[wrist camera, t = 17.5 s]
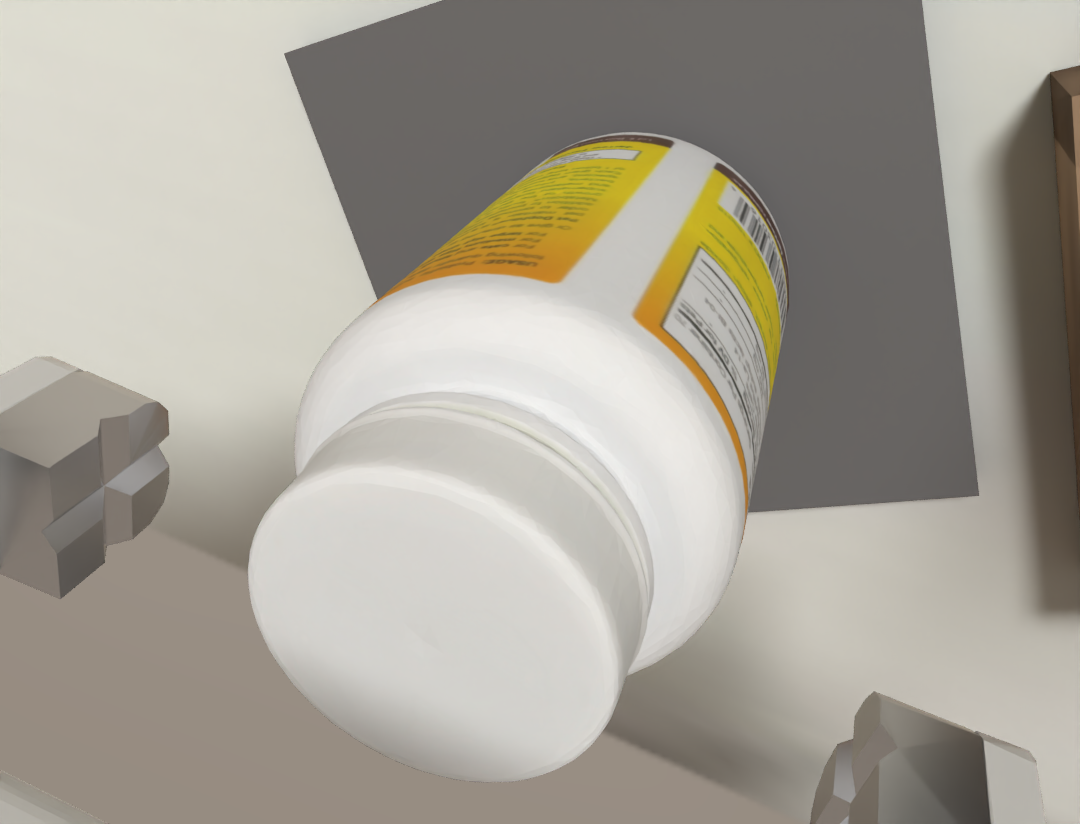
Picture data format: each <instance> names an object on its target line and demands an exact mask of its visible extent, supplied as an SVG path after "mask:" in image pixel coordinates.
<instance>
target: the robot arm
mask: <svg viewBox="0 0 1080 824" xmlns="http://www.w3.org/2000/svg"><path fill="white" fill-rule="evenodd" d="M168 435H169V422H168V410H167V409H166V408H164V407H163V406H162V405H161V404H160V403H159V402H157V401H155V400H152V399H150V398H148V397H146V396H143V395H141V394H139V393H136V392H134V391H132V390H129V389H127V388H125V387H123V386H120V385H118V384H116V383H113V382H111V381H109V380H106V379H104V378H102V377H99V376H97V375H95V374H93V373H90V372H88V371H83V370H81V369H79V368H76V367H74V366H72V365H70V364H67V363H65V362H63V361H60V360H58V359H56V358H54V357H34V358H33V359H31V360H29V361H27V362H25V363H23V364H21V365H19V366H17V367H15V368H14V369H12V370H10V371H8V372H6V373H4V374H2V375H0V574H2V575H4V576H6V577H9V578H12V579H14V580H16V581H18V582H21V583H23V584H26V585H28V586H30V587H33V588H35V589H38V590H40V591H42V592H45V593H47V594H49V595H52V596H54V597H57V598H59V599H61V598H62V597H64V596H65V595H66V594H67V593H68V592H70V591H71V590H72V589H73V588H75V587H76V586H77V585H78V584H79V583H81V582H82V581H83V580H84V579H85V578H86V577H88V576H89V575H90V574H91V573H92V572H94V571H95V570H96V569H97V568H99V567H100V566H101V565H102V564H103V563H105V556H106V548H107V546H108V545H111V544H115V543H119V542H123V541H127V540H131V539H133V538H134V537H135V536H137V535H138V534H139V533H140V532H141V531H142V530H143V529H145V528H146V527H147V526H148V525H149V524H150V523H151V522H152V520H153V518H154V517H155V515H156V514H157V512H158V510H159V509H160V507H161V506H162V504H163V503H164V500H165V496H166V492H167V489H168V485H169V465H168V463H167V461H166V459H165V457H164V456H163V454H162V452H161V450H160V449H159V447H158V445H159V444H160V443H161V442H162V441H163V440H164V439H165V438H166V437H167V436H168ZM0 824H109V823H107V822H105V821H103V820H100V819H98V818H96V817H94V816H92V815H90V814H88V813H86V812H84V811H82V810H80V809H78V808H76V807H74V806H72V805H70V804H68V803H66V802H64V801H62V800H60V799H58V798H56V797H54V796H52V795H50V794H48V793H46V792H44V791H42V790H40V789H38V788H36V787H34V786H32V785H30V784H28V783H26V782H24V781H22V780H20V779H18V778H16V777H14V776H12V775H10V774H8V773H6V772H4V771H1V770H0ZM810 824H1046V818H1045V812H1044V806H1043V800H1042V794H1041V788H1040V782H1039V776H1038V770H1037V764H1036V760H1035V759H1034V757H1033V756H1032V754H1031V753H1030V751H1028V750H1025V749H1023V748H1020V747H1017V746H1015V745H1012V744H1010V743H1007V742H1004V741H1002V740H999V739H997V738H994V737H991V736H989V735H986V734H983V733H981V732H978V731H975V732H974V731H972V730H971V729H968V728H966V727H963V726H961V725H958V724H956V723H953V722H951V721H948V720H945V719H943V718H940V717H938V716H935V715H933V714H930V713H928V712H925V711H923V710H920V709H918V708H915V707H913V706H910V705H908V704H905V703H903V702H900V701H898V700H895V699H893V698H890V697H887V696H885V695H882V694H880V693H877V692H875V691H874V692H873V693H872V694H871V695H869V696H868V697H867V698H866V699H865V701H864V702H863V704H862V705H861V707H860V708H859V710H858V712H857V713H856V715H855V720H854V735H853V739H851V740H848V741H845V742H842V743H839V744H837V746H836V748H835V749H834V751H833V753H832V755H831V756H830V758H829V760H828V762H827V764H826V765H825V768H824V770H823V773H822V776H821V779H820V781H819V784H818V787H817V789H816V793H815V798H814V802H813V807H812V812H811V821H810Z"/></svg>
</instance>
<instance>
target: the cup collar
mask: <svg viewBox="0 0 1080 824" xmlns="http://www.w3.org/2000/svg"><path fill="white" fill-rule="evenodd" d="M1050 82H1051V97H1052V112H1053V127H1054V142H1055V157H1056V172H1057V187H1058V203H1059V218H1060V233H1061V248H1062V263H1063V278H1064V293H1065V308H1066V323H1067V338H1068V353H1069V369H1070V384H1071V399H1072V414H1073V429H1074V444H1075V459H1076V474H1077V489H1078V504H1079V519H1080V66H1076V67H1071V68H1067V69H1063V70H1058V71H1054V72H1050Z"/></svg>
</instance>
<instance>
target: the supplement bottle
mask: <svg viewBox="0 0 1080 824" xmlns="http://www.w3.org/2000/svg"><path fill="white" fill-rule="evenodd" d="M788 309H789V270H788V261H787V256H786V251H785V247H784V244H783V241H782V238H781V235H780V232H779V230H778V227H777V225H776V223H775V221H774V219H773V216H772V215H771V213H770V211H769V210H768V208H767V206H766V205H765V203H764V202H763V200H762V199H761V198H760V196H759V195H758V193H757V192H756V191H755V190H754V189H753V187H752V186H751V185H750V184H749V183H748V182H747V181H746V180H745V179H744V178H743V177H742V176H741V175H740V174H739V173H738V172H736V171H735V170H734V169H733V168H732V167H731V166H729V165H728V164H726V163H725V162H724V161H722V160H721V159H720V158H718V157H716V156H715V155H713V154H711V153H710V152H708V151H706V150H704V149H702V148H700V147H698V146H695V145H693V144H691V143H688V142H685V141H682V140H679V139H676V138H673V137H669V136H664V135H658V134H651V133H640V132H622V133H612V134H607V135H602V136H598V137H593V138H589V139H585V140H582V141H580V142H577V143H575V144H572V145H570V146H568V147H566V148H564V149H562V150H560V151H558V152H556V153H555V154H553V155H552V156H550V157H549V158H547V159H546V160H544V161H543V162H542V163H540V164H539V165H538V166H536V167H535V168H534V169H532V170H531V171H530V172H529V173H528V174H527V175H525V176H524V177H523V178H522V179H521V180H520V181H518V182H517V183H516V184H515V185H513V186H512V187H511V188H510V189H509V190H508V191H507V192H506V193H504V194H503V195H502V196H501V197H499V198H498V199H497V200H496V201H495V202H493V203H492V204H491V205H490V206H488V207H487V208H486V209H485V210H484V211H483V212H482V213H481V214H479V215H478V216H477V217H476V218H475V219H474V220H472V221H471V222H470V223H469V224H468V225H467V226H465V227H464V228H463V229H462V230H461V231H459V232H458V233H457V234H456V235H455V236H454V237H452V238H451V239H450V240H449V241H448V242H447V243H445V244H444V245H443V246H442V247H441V248H439V249H438V250H437V251H436V252H435V253H434V254H432V255H431V256H430V257H429V258H428V259H427V260H425V261H424V262H423V263H422V264H421V265H419V266H418V267H417V268H416V269H415V270H414V271H412V272H411V273H410V274H409V275H407V276H406V277H405V278H404V279H403V280H401V281H400V282H399V283H398V284H396V285H395V286H394V287H393V288H392V289H390V290H389V291H388V292H387V293H386V294H384V295H383V296H382V297H381V298H380V299H378V300H377V301H376V302H375V303H374V304H372V305H371V306H370V307H369V308H368V309H366V310H365V311H364V312H363V313H362V314H361V315H360V316H359V317H357V318H356V319H355V320H354V321H353V322H352V323H351V324H350V325H349V326H348V327H347V328H346V329H345V330H344V331H343V332H342V333H341V334H340V335H339V336H338V337H337V338H336V339H335V340H334V341H333V343H332V344H331V345H330V347H329V348H328V349H327V351H326V352H325V353H324V355H323V356H322V358H321V359H320V361H319V363H318V364H317V366H316V367H315V369H314V371H313V373H312V375H311V377H310V379H309V381H308V384H307V387H306V389H305V392H304V394H303V397H302V401H301V404H300V408H299V412H298V415H297V421H296V431H295V469H296V475H297V477H296V478H295V480H294V481H293V482H292V483H291V484H290V485H289V486H288V487H287V488H286V489H285V490H284V491H283V492H282V493H281V494H280V495H279V496H278V497H277V499H276V500H275V501H274V502H273V504H272V505H271V506H270V507H269V508H268V510H267V511H266V513H265V514H264V516H263V518H262V520H261V522H260V524H259V526H258V528H257V530H256V533H255V535H254V538H253V542H252V545H251V549H250V555H249V564H248V585H249V593H250V599H251V605H252V609H253V612H254V616H255V619H256V621H257V625H258V627H259V629H260V632H261V634H262V636H263V638H264V640H265V642H266V644H267V646H268V648H269V650H270V652H271V653H272V655H273V657H274V658H275V660H276V661H277V663H278V664H279V666H280V667H281V668H282V670H283V671H284V673H285V674H286V675H287V677H288V678H289V679H290V681H291V682H292V684H293V685H294V686H295V687H296V688H297V689H298V690H299V691H300V692H301V693H302V694H303V696H305V698H306V699H307V700H308V701H309V702H310V703H311V704H312V705H313V706H314V707H315V708H316V709H317V710H318V711H319V712H320V713H322V714H323V715H324V716H325V717H326V718H327V719H328V720H330V721H331V722H332V723H333V724H335V725H336V726H337V727H339V728H340V729H342V730H343V731H345V732H346V733H348V734H349V735H350V736H352V737H354V738H355V739H356V740H358V741H359V742H361V743H363V744H364V745H366V746H367V747H369V748H371V749H373V750H375V751H377V752H379V753H380V754H382V755H384V756H386V757H388V758H390V759H393V760H395V761H397V762H399V763H402V764H404V765H407V766H409V767H412V768H414V769H417V770H420V771H423V772H427V773H431V774H434V775H438V776H442V777H446V778H451V779H456V780H463V781H471V782H487V783H488V782H514V781H520V780H527V779H531V778H534V777H537V776H541V775H544V774H547V773H549V772H551V771H554V770H556V769H558V768H560V767H562V766H564V765H566V764H568V763H570V762H571V761H573V760H575V759H576V758H578V757H579V756H580V755H581V754H582V753H583V752H584V751H586V750H587V749H588V748H589V747H590V746H591V745H592V744H593V743H594V742H595V741H596V739H597V738H598V736H599V735H600V734H601V733H602V731H603V730H604V729H605V727H606V726H607V724H608V722H609V721H610V719H611V717H612V715H613V712H614V710H615V707H616V705H617V702H618V700H619V697H620V695H621V692H622V688H623V685H624V682H625V679H626V676H628V675H631V674H633V673H635V672H637V671H640V670H642V669H644V668H646V667H649V666H651V665H653V664H655V663H656V662H658V661H660V660H661V659H663V658H664V657H666V656H667V655H669V654H670V653H672V652H673V651H675V650H676V649H678V648H679V647H681V646H682V645H683V644H684V643H685V642H686V641H687V640H688V639H689V638H690V637H692V636H693V635H694V634H695V633H696V631H697V630H698V629H699V628H700V627H701V626H702V625H703V624H704V622H705V621H706V620H707V619H708V617H709V616H710V615H711V613H712V612H713V611H714V609H715V608H716V606H717V605H718V603H719V601H720V599H721V597H722V595H723V594H724V592H725V590H726V588H727V586H728V584H729V581H730V578H731V576H732V573H733V570H734V567H735V564H736V561H737V557H738V553H739V549H740V546H741V543H742V539H743V534H744V529H745V523H746V519H747V514H748V509H749V505H750V499H751V493H752V488H753V483H754V478H755V474H756V468H757V463H758V458H759V453H760V448H761V442H762V437H763V432H764V427H765V422H766V418H767V414H768V409H769V404H770V399H771V394H772V389H773V383H774V378H775V374H776V369H777V363H778V357H779V352H780V347H781V342H782V337H783V332H784V327H785V322H786V317H787V312H788Z"/></svg>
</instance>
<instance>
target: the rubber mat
mask: <svg viewBox="0 0 1080 824" xmlns="http://www.w3.org/2000/svg"><path fill="white" fill-rule="evenodd" d="M284 55H285V58H286V60H287V63H288V65H289V68H290V71H291V73H292V76H293V79H294V81H295V84H296V86H297V89H298V92H299V94H300V97H301V100H302V102H303V105H304V107H305V110H306V113H307V115H308V118H309V121H310V123H311V126H312V128H313V131H314V134H315V136H316V139H317V142H318V144H319V147H320V149H321V152H322V155H323V157H324V160H325V163H326V165H327V168H328V170H329V173H330V176H331V178H332V181H333V184H334V186H335V189H336V192H337V194H338V197H339V199H340V202H341V205H342V207H343V210H344V213H345V215H346V218H347V220H348V223H349V226H350V228H351V231H352V234H353V236H354V239H355V241H356V244H357V247H358V249H359V252H360V255H361V257H362V260H363V262H364V265H365V268H366V270H367V273H368V276H369V278H370V281H371V283H372V286H373V289H374V291H375V294H376V297H377V299H380V298H381V297H382V296H383V295H384V294H386V293H387V292H388V291H389V290H390V289H392V288H393V287H394V286H395V285H396V284H398V283H399V282H400V281H401V280H403V279H404V278H405V277H406V276H407V275H409V274H410V273H411V272H412V271H414V270H415V269H416V268H417V267H418V266H419V265H421V264H422V263H423V262H424V261H425V260H427V259H428V258H429V257H430V256H431V255H432V254H434V253H435V252H436V251H437V250H438V249H439V248H441V247H442V246H443V245H444V244H445V243H447V242H448V241H449V240H450V239H451V238H452V237H454V236H455V235H456V234H457V233H458V232H459V231H461V230H462V229H463V228H464V227H465V226H467V225H468V224H469V223H470V222H471V221H472V220H474V219H475V218H476V217H477V216H478V215H479V214H481V213H482V212H483V211H484V210H485V209H486V208H487V207H488V206H490V205H491V204H492V203H493V202H495V201H496V200H497V199H498V198H499V197H501V196H502V195H503V194H504V193H506V192H507V191H508V190H509V189H510V188H511V187H512V186H513V185H515V184H516V183H517V182H518V181H520V180H521V179H522V178H523V177H524V176H525V175H527V174H528V173H529V172H530V171H531V170H532V169H534V168H535V167H536V166H538V165H539V164H540V163H542V162H543V161H544V160H546V159H547V158H549V157H550V156H552V155H553V154H555V153H556V152H558V151H560V150H562V149H564V148H566V147H568V146H570V145H572V144H575V143H577V142H580V141H582V140H585V139H589V138H593V137H598V136H602V135H607V134H612V133H622V132H640V133H651V134H658V135H664V136H669V137H673V138H676V139H679V140H682V141H685V142H688V143H691V144H693V145H695V146H698V147H700V148H702V149H704V150H706V151H708V152H710V153H711V154H713V155H715V156H716V157H718V158H720V159H721V160H722V161H724V162H725V163H726V164H728V165H729V166H731V167H732V168H733V169H734V170H735V171H736V172H738V173H739V174H740V175H741V176H742V177H743V178H744V179H745V180H746V181H747V182H748V183H749V184H750V185H751V186H752V187H753V189H754V190H755V191H756V192H757V193H758V195H759V196H760V198H761V199H762V200H763V202H764V203H765V205H766V206H767V208H768V210H769V211H770V213H771V215H772V216H773V219H774V221H775V223H776V225H777V227H778V230H779V232H780V235H781V238H782V241H783V244H784V247H785V251H786V256H787V261H788V270H789V309H788V312H787V317H786V322H785V327H784V332H783V337H782V342H781V347H780V352H779V357H778V363H777V369H776V374H775V378H774V383H773V389H772V394H771V399H770V404H769V409H768V414H767V418H766V422H765V427H764V432H763V437H762V442H761V448H760V453H759V458H758V463H757V468H756V474H755V478H754V483H753V488H752V493H751V499H750V505H749V509H748V512H761V511H775V510H789V509H802V508H816V507H830V506H844V505H858V504H871V503H885V502H899V501H913V500H927V499H941V498H954V497H968V496H979V491H978V482H977V473H976V465H975V456H974V448H973V439H972V430H971V422H970V413H969V405H968V396H967V387H966V379H965V370H964V361H963V353H962V344H961V336H960V327H959V318H958V310H957V301H956V292H955V284H954V275H953V267H952V258H951V249H950V241H949V232H948V223H947V215H946V206H945V198H944V189H943V180H942V172H941V163H940V154H939V146H938V137H937V129H936V120H935V111H934V103H933V94H932V86H931V77H930V68H929V60H928V51H927V42H926V34H925V25H924V17H923V8H922V0H442V1H439V2H436V3H433V4H430V5H427V6H424V7H421V8H418V9H415V10H412V11H409V12H406V13H403V14H400V15H397V16H394V17H391V18H389V19H386V20H383V21H380V22H377V23H374V24H371V25H368V26H365V27H362V28H359V29H356V30H353V31H350V32H347V33H344V34H341V35H338V36H335V37H332V38H329V39H326V40H323V41H320V42H317V43H314V44H311V45H308V46H305V47H302V48H299V49H296V50H293V51H290V52H287V53H284Z"/></svg>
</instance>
